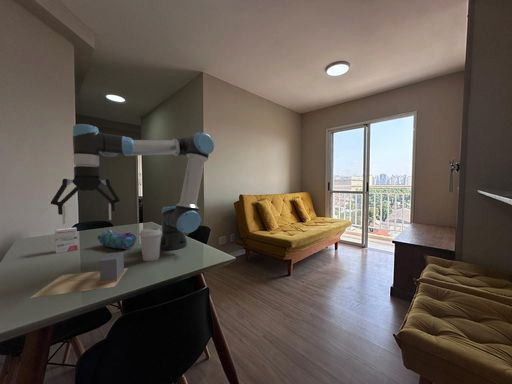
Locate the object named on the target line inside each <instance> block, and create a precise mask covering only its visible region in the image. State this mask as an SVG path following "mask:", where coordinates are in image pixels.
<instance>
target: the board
mask: <svg viewBox="0 0 512 384" xmlns="http://www.w3.org/2000/svg"><path fill="white" fill-rule="evenodd" d="M128 269H129V267H124V273H123V274H122V275H121V277H120V278H119V279H118V281H116V282H109V283H101V284H100V270H97V271H87V272H80V273H79V272H78V273H71V274H70V273H69V274H60V276H59V277H57V278H55V279H54V280H53V281H51V282H50V283H49V284H47V285H46V286H44V287H43V288H42V289H41V290H40V289H39V291H38V292H36V293H35V294H33V295H32V296H31V297H30V299H32V298H41V297H42V298H43V297H48V296H55V295H57V296H58V295H62V294H72V293H78V292H84V291H85V292H86V291H94V290H100V289H101V290H102V289H108V288H109V289H110V288H115V287H116V285H117V284H118V283H119V281H120V280H121V279H122V277H123V276H124V275H125V273H127V271H128Z"/></svg>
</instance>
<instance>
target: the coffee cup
mask: <svg viewBox="0 0 512 384" xmlns="http://www.w3.org/2000/svg"><path fill="white" fill-rule="evenodd" d="M138 236H139V237H140V238H139V239H140V245H141V253H142V254H141V255H142V261H144V262H154V261H156V260H158V259H160V252H161V249H160V242H161V236H162V228H160V227H146V228H143V229H141V230H140V232H139V234H138Z"/></svg>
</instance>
